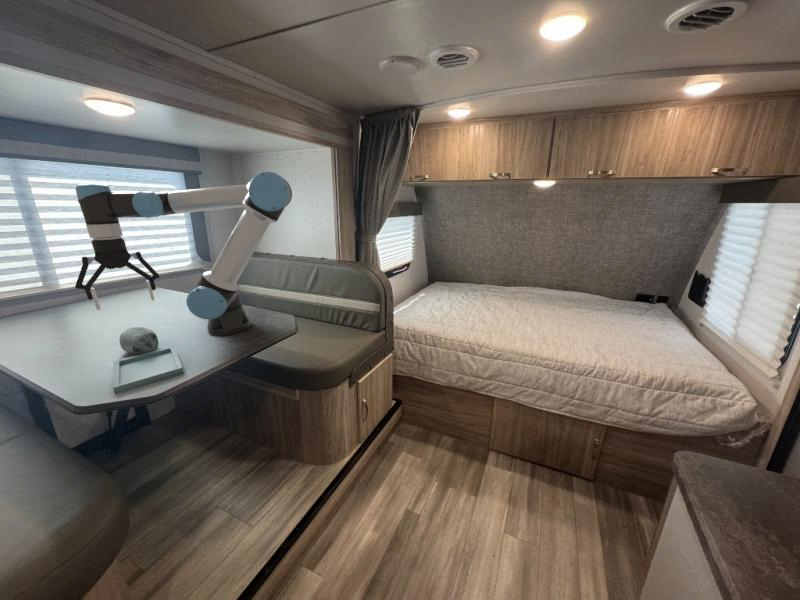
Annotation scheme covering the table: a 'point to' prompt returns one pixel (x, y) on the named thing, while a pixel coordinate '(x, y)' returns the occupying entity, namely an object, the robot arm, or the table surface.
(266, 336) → the table surface
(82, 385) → the table surface
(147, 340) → the streaked grey egg
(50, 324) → the table surface
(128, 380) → the tray
